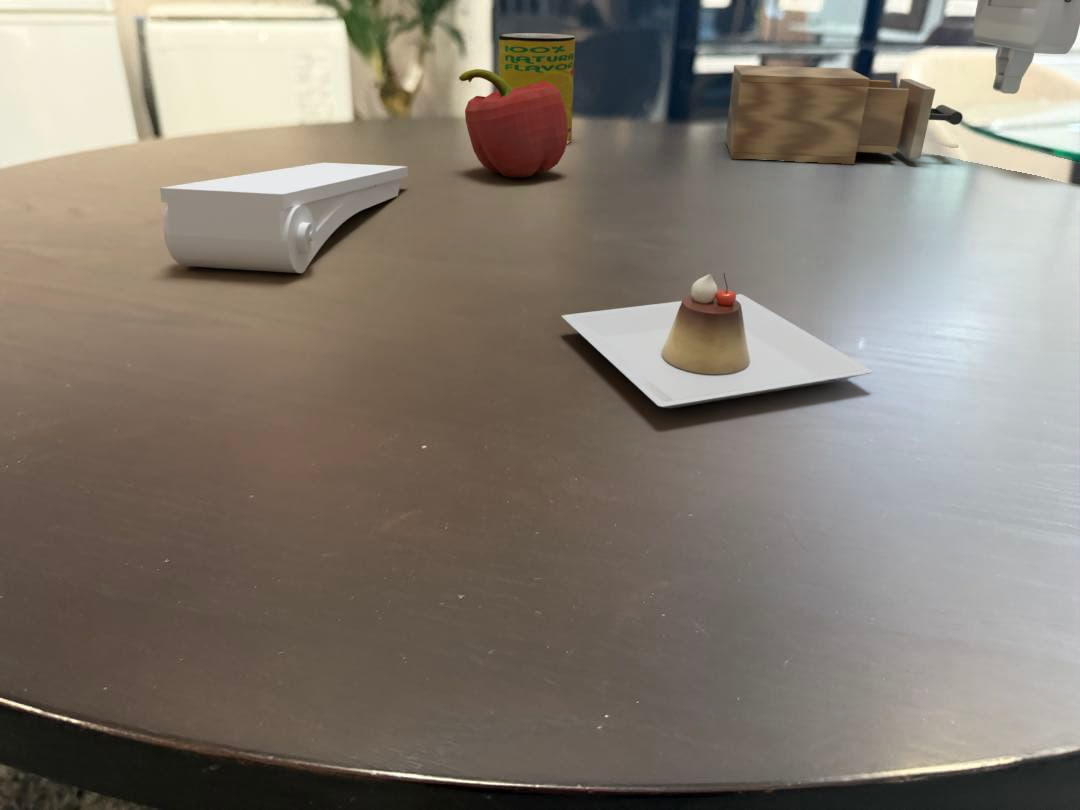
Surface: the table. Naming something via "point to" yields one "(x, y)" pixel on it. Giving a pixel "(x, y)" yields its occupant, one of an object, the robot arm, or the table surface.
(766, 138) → the cabinet
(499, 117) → the vegetable
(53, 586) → the table surface
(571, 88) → the beverage can
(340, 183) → the wall bracket
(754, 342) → the dessert
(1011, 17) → the robot arm
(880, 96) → the drawer
